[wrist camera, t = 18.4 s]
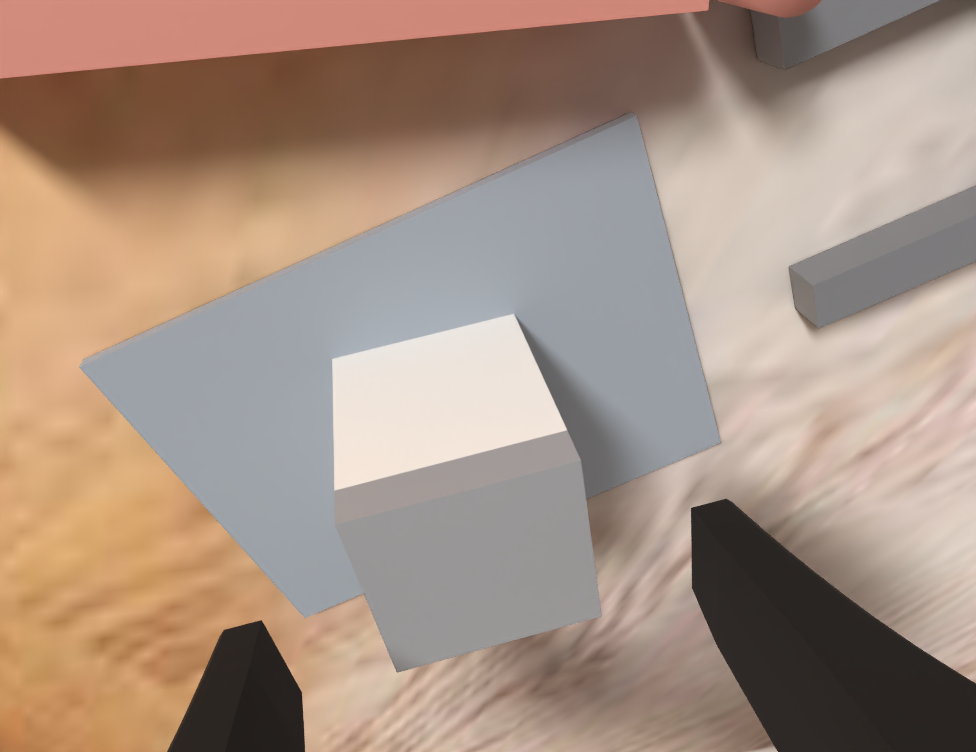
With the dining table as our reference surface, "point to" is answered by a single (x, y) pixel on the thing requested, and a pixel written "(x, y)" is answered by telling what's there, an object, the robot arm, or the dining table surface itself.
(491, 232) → the slate mat
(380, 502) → the plug
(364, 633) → the dining table surface
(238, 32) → the pink flat bar
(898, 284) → the bracket
